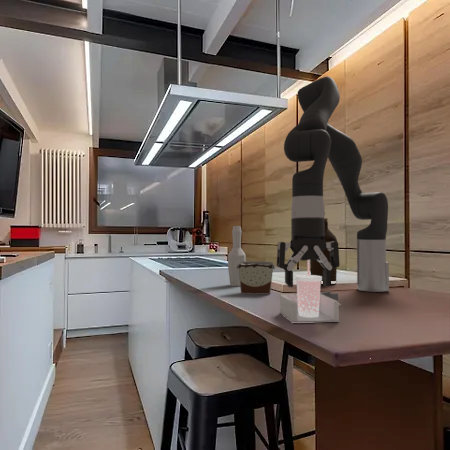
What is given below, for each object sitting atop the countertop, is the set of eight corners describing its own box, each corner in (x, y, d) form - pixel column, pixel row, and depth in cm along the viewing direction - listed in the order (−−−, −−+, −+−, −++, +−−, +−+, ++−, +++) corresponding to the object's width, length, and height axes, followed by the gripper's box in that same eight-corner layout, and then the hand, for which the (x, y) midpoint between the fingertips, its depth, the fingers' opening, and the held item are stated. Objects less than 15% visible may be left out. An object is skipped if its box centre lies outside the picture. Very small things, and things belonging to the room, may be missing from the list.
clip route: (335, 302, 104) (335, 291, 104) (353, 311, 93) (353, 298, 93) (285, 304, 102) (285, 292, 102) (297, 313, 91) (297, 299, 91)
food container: (274, 291, 125) (274, 261, 125) (275, 294, 119) (274, 262, 119) (237, 290, 126) (237, 260, 126) (236, 293, 120) (236, 262, 120)
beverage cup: (327, 317, 84) (327, 255, 84) (303, 319, 82) (303, 255, 83) (313, 311, 90) (313, 253, 90) (290, 313, 88) (290, 254, 88)
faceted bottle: (234, 283, 142) (234, 226, 142) (248, 285, 138) (248, 225, 139) (224, 285, 137) (224, 225, 137) (239, 287, 133) (239, 225, 134)
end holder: (321, 312, 92) (321, 293, 92) (338, 322, 81) (338, 301, 81) (280, 313, 91) (280, 294, 91) (292, 324, 80) (292, 302, 80)
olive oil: (342, 283, 144) (341, 218, 145) (331, 286, 136) (330, 217, 136) (316, 280, 151) (316, 219, 151) (304, 283, 142) (304, 218, 143)
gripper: (330, 217, 91) (331, 283, 91) (273, 217, 89) (274, 284, 89) (344, 216, 83) (344, 288, 83) (282, 215, 82) (282, 289, 82)
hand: (308, 286), depth 86 cm, fingers open, 8 cm apart
